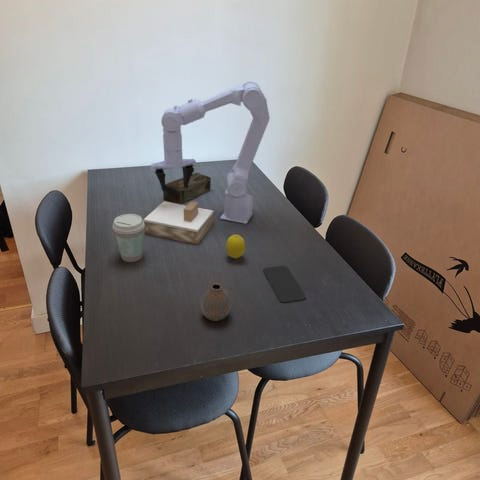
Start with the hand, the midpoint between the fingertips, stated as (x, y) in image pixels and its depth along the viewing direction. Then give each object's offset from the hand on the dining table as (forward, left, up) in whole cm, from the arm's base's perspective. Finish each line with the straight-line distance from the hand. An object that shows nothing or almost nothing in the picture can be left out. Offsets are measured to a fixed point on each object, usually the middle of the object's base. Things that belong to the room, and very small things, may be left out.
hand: (174, 188), depth 130 cm
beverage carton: (+3, -17, -11) cm, 21 cm away
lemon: (-27, +18, -10) cm, 34 cm away
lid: (-5, +8, -6) cm, 11 cm away
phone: (-43, +25, -11) cm, 51 cm away
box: (-5, +8, -10) cm, 14 cm away
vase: (-30, +43, -10) cm, 53 cm away
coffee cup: (+1, +28, -10) cm, 30 cm away
